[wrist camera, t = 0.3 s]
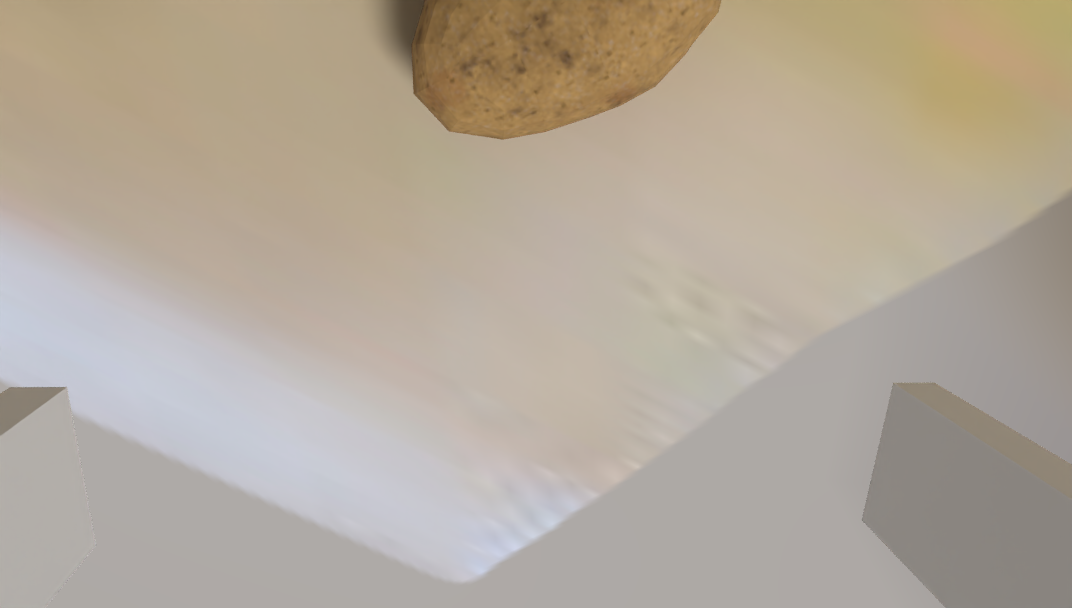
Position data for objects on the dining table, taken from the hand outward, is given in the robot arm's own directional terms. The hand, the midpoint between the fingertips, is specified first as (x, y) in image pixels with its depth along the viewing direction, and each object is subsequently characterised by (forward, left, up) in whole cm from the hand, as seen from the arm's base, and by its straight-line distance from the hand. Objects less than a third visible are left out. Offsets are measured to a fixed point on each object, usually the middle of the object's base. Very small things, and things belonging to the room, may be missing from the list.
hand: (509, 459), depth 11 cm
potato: (-5, -2, -26) cm, 26 cm away
